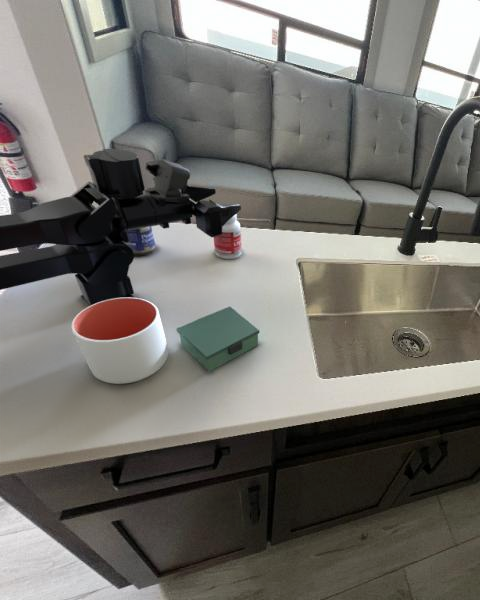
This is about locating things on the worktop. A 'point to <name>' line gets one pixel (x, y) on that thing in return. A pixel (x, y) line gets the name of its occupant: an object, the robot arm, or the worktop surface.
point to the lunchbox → (218, 337)
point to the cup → (121, 339)
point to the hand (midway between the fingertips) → (227, 198)
